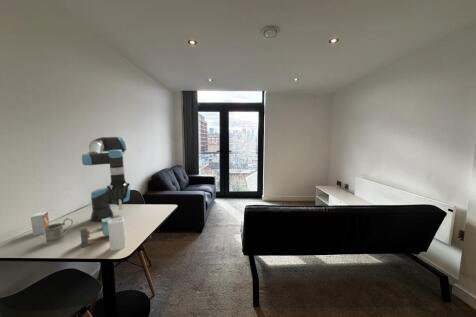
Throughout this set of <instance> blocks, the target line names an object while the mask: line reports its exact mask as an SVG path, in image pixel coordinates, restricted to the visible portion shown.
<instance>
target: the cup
mask: <svg viewBox="0 0 476 317" xmlns="http://www.w3.org/2000/svg"><path fill="white" fill-rule="evenodd" d="M108 231H109V240H108V241H109V249H110V251H119V250H122V249H124V248H126V246H127V235H126V224H125V218H124V217H113V218H111V220H109V221H108Z"/></svg>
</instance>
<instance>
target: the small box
mask: <svg viewBox="0 0 476 317" xmlns="http://www.w3.org/2000/svg"><path fill="white" fill-rule="evenodd" d="M49 219H50V218H49V212H48V211H42V212H36V213H35V214H33V215H31V216H30V221H31V228H32V236H33V237H35V236H40V235H46V232H45V227H47V226H49V225H50V220H49Z"/></svg>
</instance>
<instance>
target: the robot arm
mask: <svg viewBox="0 0 476 317" xmlns="http://www.w3.org/2000/svg"><path fill="white" fill-rule="evenodd" d="M126 151H127V146H126V141H125V138H124V137H122V136H111V137H110V136H109V137H106V136H105V137H104V136H101V137H98V138H95V139H93V140H91V141H90V142H89V144H88V152H87V153H83V154H82V155H81V161H82V165H83V166H97V165H99V166H100V165H101V166H102V165H109V172H110V184H108V185H106V187H102V188H98V189H95V190H93V191H92V192H91V193H90V199H91V208H92V212H91V215H90V221H91V222H95V223H96V222H102V220H101V219H104V218H108V217H111V219H113V218H114V212H113V209H112V208H111V204H116V205H117V206H118V210H119V211H122V210H123V205H124V203H125V202H129V200H130V197H131V196H130V195H131V194H130V193H131V190H130V189H131V187H130V182H127V181H126V174H125V165H124V162H125V161H124V154H126V153H125V152H126Z"/></svg>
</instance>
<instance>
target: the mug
mask: <svg viewBox="0 0 476 317" xmlns="http://www.w3.org/2000/svg"><path fill="white" fill-rule="evenodd" d="M69 220H70V221H71V224H70V225H69V226H68V227H66V228H65V229H64V226H65V225H66V223H65V222H66V221H69ZM73 222H74V221H73V219H71V218H69V217H66V218H64V220H63V222H59V223H54V224H49V226H47V227H45V232H46V233H45V238H46V241H45V242H44V245H45V246H53V245H57V244H60V243H62V242H64V241H66V239H67V237H66V236H65V232H66V231H67V229H69V228H70V227H72V225H73Z"/></svg>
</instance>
